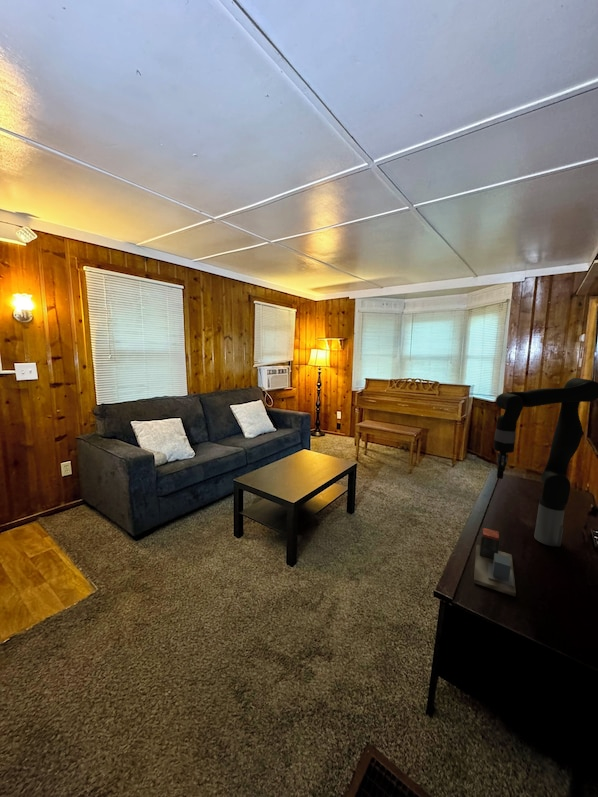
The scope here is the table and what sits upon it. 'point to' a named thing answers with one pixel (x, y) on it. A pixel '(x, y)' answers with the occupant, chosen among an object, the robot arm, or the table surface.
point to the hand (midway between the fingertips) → (499, 478)
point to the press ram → (491, 534)
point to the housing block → (501, 566)
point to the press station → (491, 567)
